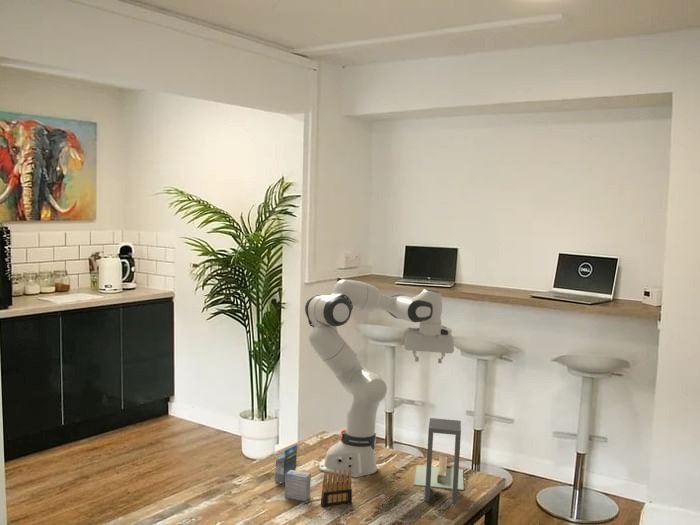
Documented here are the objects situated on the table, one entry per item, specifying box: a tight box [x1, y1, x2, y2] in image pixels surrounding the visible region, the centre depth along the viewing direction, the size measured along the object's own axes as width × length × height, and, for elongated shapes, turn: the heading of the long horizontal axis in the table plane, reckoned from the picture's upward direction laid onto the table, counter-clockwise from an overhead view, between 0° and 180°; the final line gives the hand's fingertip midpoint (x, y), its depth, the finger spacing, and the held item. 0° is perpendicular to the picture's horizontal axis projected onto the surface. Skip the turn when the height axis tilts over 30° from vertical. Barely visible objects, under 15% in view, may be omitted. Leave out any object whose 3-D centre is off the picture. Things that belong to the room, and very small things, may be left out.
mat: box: [413, 464, 465, 491], centre depth 259 cm, size 18×20×1 cm
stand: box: [424, 417, 462, 505], centre depth 241 cm, size 11×12×26 cm
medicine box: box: [284, 470, 312, 502], centre depth 235 cm, size 8×4×9 cm, turn 71°
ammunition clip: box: [320, 469, 353, 508], centre depth 231 cm, size 11×2×12 cm, turn 112°
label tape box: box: [274, 444, 298, 484], centre depth 251 cm, size 9×4×12 cm, turn 154°
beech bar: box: [437, 455, 448, 484], centre depth 263 cm, size 3×20×3 cm, turn 171°
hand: (428, 362), depth 280 cm, fingers open, 8 cm apart
